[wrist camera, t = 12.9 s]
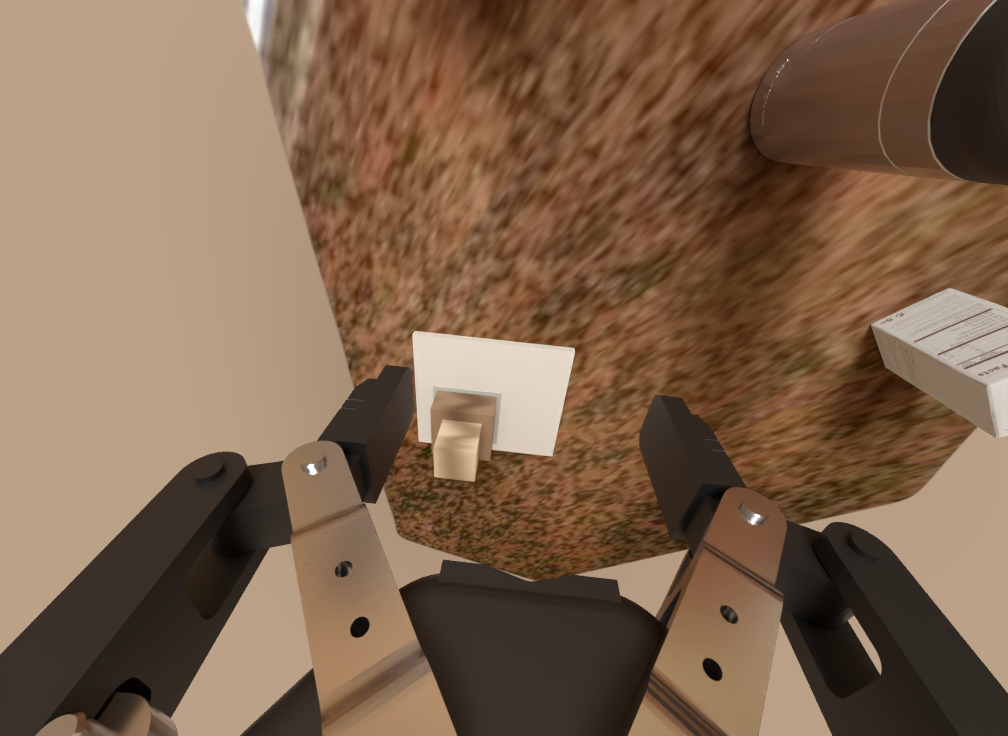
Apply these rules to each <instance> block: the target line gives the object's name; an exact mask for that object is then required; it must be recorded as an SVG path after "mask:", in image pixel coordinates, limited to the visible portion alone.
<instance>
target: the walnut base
mask: <svg viewBox="0 0 1008 736" xmlns="http://www.w3.org/2000/svg"><path fill="white" fill-rule="evenodd" d="M496 400H497V397H494V396H485V395H476V394H467V393H457V392H448V391H439V390H437V393H436V396H435V398H434V401H433V404H432V406H431V409H430V413H431V442H432V455H434V445H435V442H436V439H437V435H438V432H439V429H440V426H441V423H442V420H443V419H444V420H453V421H461V422H470V423H479V424H482V428H481V442H480V454H479V460H485V461H490V457H491V450H492V443H493V433H494V422H495V411H496Z"/></svg>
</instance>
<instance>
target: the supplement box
mask: <svg viewBox="0 0 1008 736" xmlns="http://www.w3.org/2000/svg"><path fill="white" fill-rule="evenodd" d="M871 327H872V330H873V333H874V336H875V339H876V342H877V345H878V348H879V351H880V354H881V357H882V359H883V362H884V365H885V368H887V369H889V370H890V371H892V372H894V373H895V374H897V375H898V376H900V377H901V378H903V379H904V380H906V381H908V382H909V383H911V384H912V385H914V386H915V387H917V388H918V389H920V390H922V391H923V392H925V393H926V394H928V395H929V396H931V397H933V398H934V399H936V400H937V401H939V402H940V403H942V404H943V405H945V406H947V407H948V408H950V409H951V410H953V411H954V412H956V413H958V414H959V415H961V416H962V417H964V418H965V419H967V420H968V421H970V422H972V423H973V424H975V425H976V426H978V427H979V428H981V429H982V430H984V431H986V432H987V433H989V434H990V435H992V436H994V437H995V438H1000V437H1005V436H1008V308H1006V307H1003V306H1000V305H998V304H995V303H992V302H989V301H986V300H983V299H981V298H978V297H975V296H972V295H969V294H966V293H963V292H960V291H958V290H955V289H952V288H948V289H945V290H943V291H941V292H939V293H936V294H934V295H932V296H930V297H928V298H926V299H923V300H921V301H919V302H917V303H915V304H913V305H911V306H908V307H906V308H904V309H902V310H900V311H898V312H896V313H894V314H891V315H889V316H887V317H885V318H883V319H881V320H879V321H877V322H875V323H873V324H871Z"/></svg>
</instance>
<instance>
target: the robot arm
mask: <svg viewBox="0 0 1008 736" xmlns="http://www.w3.org/2000/svg"><path fill="white" fill-rule="evenodd" d="M750 130H751V136H752V139H753V142H754V144H755V146H756V147H757V149H758V150H759V152H760V153H761V154H763V155H764V156H765V157H767V158H768V159H770V160H773V161H775V162H779V163H789V164H798V165H807V166H815V167H825V168H835V169H845V170H855V171H865V172H875V173H885V174H895V175H905V176H915V177H928V178H938V179H949V180H959V181H969V182H980V183H990V184H1002V185H1008V0H897V1H895V2H892V3H890V4H887V5H884V6H882V7H879V8H876V9H874V10H871V11H869V12H866V13H863V14H861V15H858V16H855V17H852V18H850V19H847V20H844V21H842V22H839V23H837V24H834V25H832V26H829V27H827V28H824V29H821V30H819V31H816V32H814V33H811V34H809V35H807V36H805V37H804V38H802V39H800V40H799V41H797V42H796V43H794V44H793V45H792V46H791V47H789V48H788V49H787V50H786V51H785V52H784V53H783V54H781V56H780V57H779V58H778V59H777V60H776V61H775V62H774V64H773V65H772V66H771V67H770V69H769V70H768V72H767V73H766V75H765V76H764V78H763V79H762V81H761V83H760V85H759V88H758V90H757V92H756V94H755V97H754V101H753V104H752V108H751V115H750ZM413 410H414V400H413V385H412V372H411V369H410V368H409V367H400V366H390V365H387V366H385V368H384V369H383V371H382V372H381V374H380V375H379V377H378V378H377V379H370V378H369V379H367V380H365V381H364V382H362V383H361V384H359V385H358V386H356V387H355V389H354V390H353V391H352V393H351V394H350V396H349V397H348V400H346V401H345V403H344V404H343V405H342V408H341V409H340V410H339V411H338V412H337V414H336V415H335V417H334V418H333V419H332V421H331V422H330V423H329V425H328V426H327V428H326V429H325V430H324V432H323V433H322V435H321V436H320V437H319V439H318V440H317V441H314V442H310V443H307V444H304V445H302V446H300V447H298V448H296V449H295V450H293V451H292V452H291V453H290V454H289V455H288V456H287V457H286V458H285V460H284V461H279V462H273V463H266V464H258V465H250V466H247V464H246V461H245V459H244V458H243V457H242V456H241V455H239V454H238V453H234V452H218V453H213V454H210V455H206V456H204V457H201V458H199V459H197V460H195V461H193V462H191V463H190V464H188V465H187V466H186V467H184V468H183V469H182V470H181V471H180V472H179V473H178V474H177V475H176V476H175V477H174V478H173V479H172V480H171V481H170V482H169V483H168V484H167V485H166V486H165V487H164V488H163V489H162V490H161V491H160V492H159V493H158V494H157V495H156V496H155V497H154V498H153V499H152V500H151V501H150V502H149V503H148V504H147V506H145V508H143V510H142V511H141V512H140V513H139V514H138V515H137V516H136V517H135V518H134V519H133V520H132V521H131V522H130V523H129V524H128V525H127V526H126V527H125V528H124V529H123V530H122V531H121V532H120V533H119V534H118V535H117V536H116V537H115V538H114V539H113V540H112V541H111V542H110V543H109V544H108V545H107V546H106V547H105V548H104V549H103V550H102V551H101V552H100V553H99V554H98V555H97V556H96V557H95V559H94V560H93V561H92V562H91V563H90V564H89V565H88V566H87V567H86V568H85V569H84V570H83V571H82V572H81V573H80V574H79V575H78V576H77V577H76V578H75V579H74V580H73V581H72V582H71V583H70V584H69V585H68V586H67V587H66V588H65V589H64V590H63V591H62V592H61V593H60V595H58V596H57V597H56V598H55V599H54V600H53V601H52V602H51V604H49V605H48V607H47V608H46V609H45V610H44V611H43V612H42V613H41V614H40V615H39V616H38V617H37V618H36V619H35V620H34V621H33V622H32V623H31V624H30V625H29V626H28V627H27V628H26V629H25V630H24V631H23V632H22V633H21V634H20V635H19V636H18V637H17V638H16V639H15V640H14V641H13V642H12V644H10V645H9V646H8V647H7V648H6V649H5V650H4V651H3V653H2V654H0V736H178V732H177V728H176V725H175V723H174V721H173V720H171V717H172V715H173V713H174V711H175V710H176V708H177V706H178V705H179V703H180V701H181V699H182V698H183V696H184V694H185V693H186V691H187V689H188V687H189V686H190V684H191V682H192V680H193V679H194V677H195V675H196V673H197V672H198V670H199V668H200V667H201V665H202V663H203V661H204V660H205V658H206V656H207V655H208V653H209V651H210V649H211V648H212V646H213V644H214V643H215V641H216V639H217V637H218V636H219V634H220V632H221V630H222V629H223V627H224V625H225V623H226V622H227V620H228V618H229V617H230V615H231V613H232V612H233V610H234V608H235V606H236V604H237V603H238V601H239V599H240V597H241V596H242V594H243V593H244V591H245V589H246V587H247V586H248V584H249V582H250V580H251V579H252V577H253V575H254V574H255V572H256V570H257V568H258V567H259V565H260V563H261V561H262V560H263V558H264V556H265V555H266V553H267V551H268V549H269V548H270V547H276V546H281V545H286V544H291V545H292V550H293V556H294V562H295V567H296V573H297V579H298V584H299V590H300V595H301V602H302V607H303V613H304V618H305V624H306V630H307V635H308V641H309V647H310V652H311V658H312V664H313V668H312V669H311V670H310V671H309V672H308V673H307V674H306V675H304V676H303V677H302V678H301V679H300V680H299V681H298V682H297V683H296V684H295V685H294V686H293V687H292V688H291V689H289V690H288V691H287V692H286V693H285V694H284V695H283V696H282V697H281V698H280V699H279V700H278V701H277V702H275V704H274V705H272V706H271V707H270V708H269V709H268V710H267V711H266V712H265V713H264V714H263V715H262V716H261V717H259V718H258V719H257V720H256V721H255V722H254V723H253V724H252V725H251V726H250V727H249V728H248V729H247V730H246V731H244V732H243V733H242V734H241V735H240V736H758V735H759V730H760V725H761V719H762V714H763V709H764V703H765V698H766V692H767V687H768V682H769V676H770V671H771V666H772V660H773V655H774V650H775V644H776V639H777V633H778V628H779V622H781V624H782V626H783V629H784V631H785V633H786V635H787V637H788V639H789V642H790V644H791V646H792V648H793V650H794V652H795V655H796V657H797V659H798V661H799V663H800V665H801V668H802V670H803V672H804V674H805V677H806V679H807V681H808V683H809V685H810V688H811V690H812V692H813V694H814V696H815V698H816V701H817V703H818V705H819V707H820V709H821V712H822V714H823V716H824V718H825V720H826V723H827V725H828V727H829V729H830V731H831V733H832V736H1008V693H1007V692H1006V691H1005V689H1004V688H1003V687H1002V686H1001V684H1000V683H999V682H998V681H997V680H996V678H995V677H994V676H993V675H992V673H991V672H990V671H989V670H988V668H987V667H986V666H985V665H984V663H983V662H982V661H981V660H980V659H979V657H978V656H977V655H976V654H975V652H974V651H973V650H972V649H971V647H970V646H969V645H968V644H967V643H966V641H965V640H964V639H963V638H962V636H961V635H960V634H959V633H958V631H957V630H956V629H955V628H954V627H953V625H952V624H951V623H950V622H949V620H948V619H947V618H946V617H945V615H944V614H943V613H942V612H941V610H940V609H939V608H938V607H937V605H936V604H935V603H934V602H933V601H932V599H931V598H930V597H929V596H928V594H927V593H926V592H925V591H924V590H923V588H922V587H921V586H920V585H919V583H918V582H917V581H916V579H915V578H914V577H913V576H912V575H911V573H910V572H909V571H908V570H907V569H906V567H905V566H904V565H903V564H902V562H901V561H900V560H899V559H898V557H897V556H896V555H895V554H894V553H893V551H892V550H891V549H889V548H888V547H887V546H886V545H885V544H884V543H883V542H882V541H880V540H879V539H878V538H876V537H875V536H873V535H872V534H870V533H868V532H867V531H865V530H863V529H861V528H859V527H856V526H854V525H851V524H848V523H843V522H834V523H830V524H829V525H828V526H827V527H826V528H825V529H824V530H823V531H822V532H818V531H815V530H812V529H810V528H807V527H804V526H801V525H798V524H796V523H793V522H790V521H788V520H786V519H785V517H784V515H783V513H782V512H781V511H780V509H779V508H778V507H777V506H776V505H775V504H774V503H773V502H771V501H770V500H769V499H767V498H766V497H764V496H763V495H761V494H759V493H757V492H755V491H753V490H750V489H747V487H746V485H745V484H744V482H743V480H742V479H741V477H740V476H739V474H738V472H737V471H736V469H735V467H734V466H733V464H732V462H731V461H730V459H729V457H728V456H727V454H726V453H725V452H723V450H724V449H723V448H722V446H721V444H720V443H719V442H718V441H717V438H716V436H715V434H714V433H713V431H712V430H711V428H710V426H708V425H707V424H706V423H705V422H704V421H703V420H702V419H701V418H699V417H698V416H697V415H693V414H691V413H690V411H689V409H688V408H687V406H686V404H685V402H684V401H683V399H682V398H679V397H669V396H660V395H656V396H655V397H654V398H653V400H652V402H651V405H650V407H649V410H648V412H647V415H646V418H645V420H644V423H643V425H642V428H641V431H640V436H639V445H640V450H641V453H642V456H643V459H644V462H645V465H646V468H647V471H648V473H649V476H650V479H651V482H652V485H653V488H654V491H655V494H656V497H657V500H658V503H659V506H660V509H661V512H662V515H663V518H664V520H665V523H666V526H667V529H668V532H669V535H670V538H671V539H678V540H686V541H687V543H688V545H689V550H688V551H687V553H686V554H685V557H684V559H683V561H682V563H681V565H680V567H679V570H678V572H677V574H676V576H675V578H674V580H673V582H672V585H671V587H670V589H669V591H668V593H667V596H666V597H665V600H664V602H663V604H662V606H661V608H660V610H659V611H658V613H657V615H656V617H654V616H653V615H651V614H650V613H649V612H648V611H646V610H645V609H643V608H642V607H641V606H639V605H638V604H636V603H634V602H633V601H631V600H629V599H627V598H625V597H622V596H620V593H619V587H618V582H617V580H612V579H603V578H595V577H587V576H578V575H571V576H565V577H559V578H552V579H546V580H540V581H533V582H530V581H525V580H523V579H520V578H517V577H515V576H512V575H510V574H508V573H505V572H503V571H500V570H498V569H495V568H493V567H490V566H488V565H484V564H474V563H467V562H457V561H450V560H443V562H442V566H441V571H440V574H434V575H430V576H426V577H423V578H420V579H418V580H416V581H413V582H411V583H409V584H407V585H406V586H404V587H402V588H400V589H399V590H398V587H397V584H396V582H395V579H394V577H393V574H392V571H391V569H390V566H389V563H388V561H387V558H386V556H385V553H384V550H383V548H382V546H381V543H380V540H379V537H378V535H377V532H376V529H375V527H374V524H373V521H372V519H371V516H370V514H369V511H368V509H367V507H366V505H365V503H364V504H363V502H366V503H376V502H377V499H378V497H379V495H380V492H381V490H382V488H383V486H384V483H385V481H386V479H387V476H388V474H389V472H390V469H391V467H392V465H393V463H394V460H395V458H396V456H397V453H398V451H399V449H400V446H401V444H402V442H403V440H404V437H405V435H406V433H407V430H408V428H409V426H410V423H411V421H412V417H413ZM854 615H855V617H856V619H857V620H858V622H859V623H860V625H861V627H862V628H863V630H864V631H865V633H866V635H867V636H868V638H869V640H870V641H871V643H872V644H873V646H874V648H875V649H876V651H877V653H878V655H879V658H880V661H881V665H882V672H881V676H880V674H879V672H878V671H877V669H876V667H875V666H874V664H873V662H872V661H871V659H870V657H869V656H868V654H867V652H866V651H865V649H864V647H863V646H862V644H861V642H860V640H859V639H858V637H857V635H856V634H855V632H854V630H853V629H852V627H851V625H850V624H849V622H848V620H849V619H850V618H851V617H852V616H854Z"/></svg>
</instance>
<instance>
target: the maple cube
mask: <svg viewBox="0 0 1008 736" xmlns="http://www.w3.org/2000/svg"><path fill="white" fill-rule="evenodd" d="M481 428H482V424H479V423H470V422H461V421H453V420H444V419H443V420H442V423H441V426H440V429H439V432H438V435H437V439H436V442H435V445H434V477H439V478H447V479H456V480H465V481H473V482H475V477H476V471H477V465H478V460H479V454H480V442H481Z"/></svg>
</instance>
